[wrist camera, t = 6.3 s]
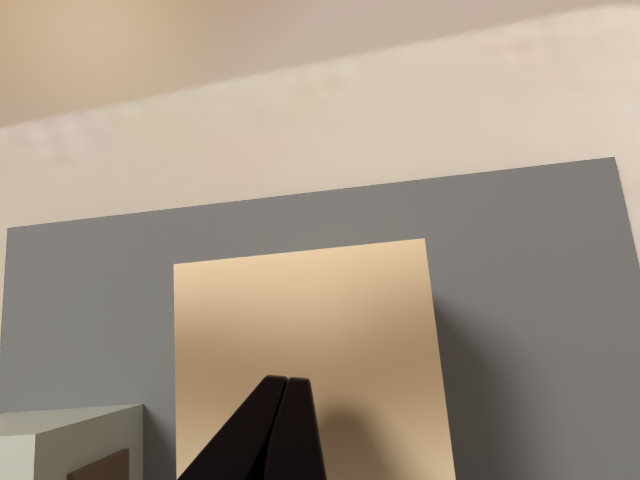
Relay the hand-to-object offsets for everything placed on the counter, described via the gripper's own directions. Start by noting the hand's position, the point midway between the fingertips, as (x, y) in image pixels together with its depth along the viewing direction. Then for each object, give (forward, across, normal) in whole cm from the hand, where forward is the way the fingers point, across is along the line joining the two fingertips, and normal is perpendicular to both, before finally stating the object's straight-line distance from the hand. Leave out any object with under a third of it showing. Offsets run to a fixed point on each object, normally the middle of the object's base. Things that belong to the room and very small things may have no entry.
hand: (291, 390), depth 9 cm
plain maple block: (+7, 0, +7) cm, 10 cm away
